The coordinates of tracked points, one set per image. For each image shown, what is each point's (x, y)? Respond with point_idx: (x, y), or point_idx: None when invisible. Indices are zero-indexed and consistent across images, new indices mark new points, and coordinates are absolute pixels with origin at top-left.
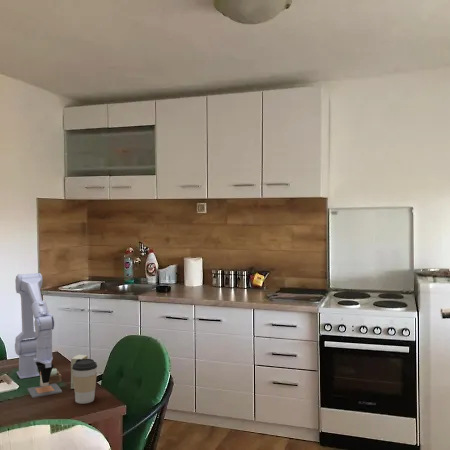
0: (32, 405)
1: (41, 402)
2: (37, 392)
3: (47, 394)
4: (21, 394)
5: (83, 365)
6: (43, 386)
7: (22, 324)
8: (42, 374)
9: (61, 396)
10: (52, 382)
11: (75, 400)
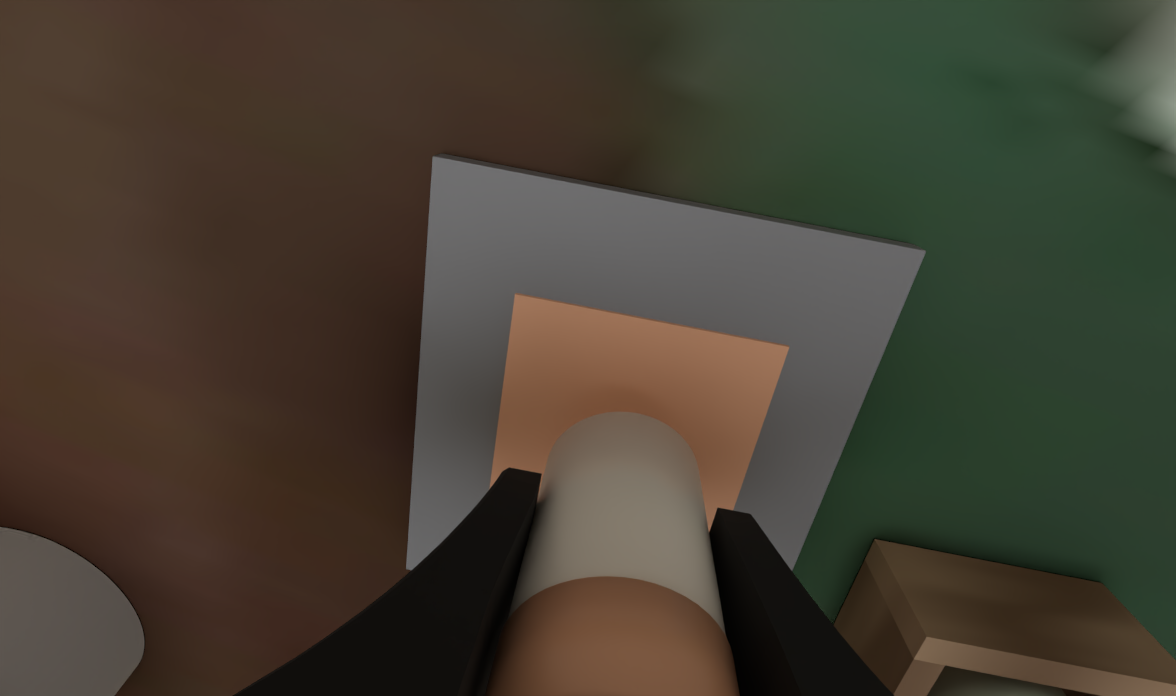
0: (83, 14)
1: (164, 195)
2: (570, 300)
3: (423, 389)
4: (763, 54)
5: None
6: (558, 438)
7: None
8: (383, 609)
9: (278, 492)
10: (846, 622)
11: (27, 541)
